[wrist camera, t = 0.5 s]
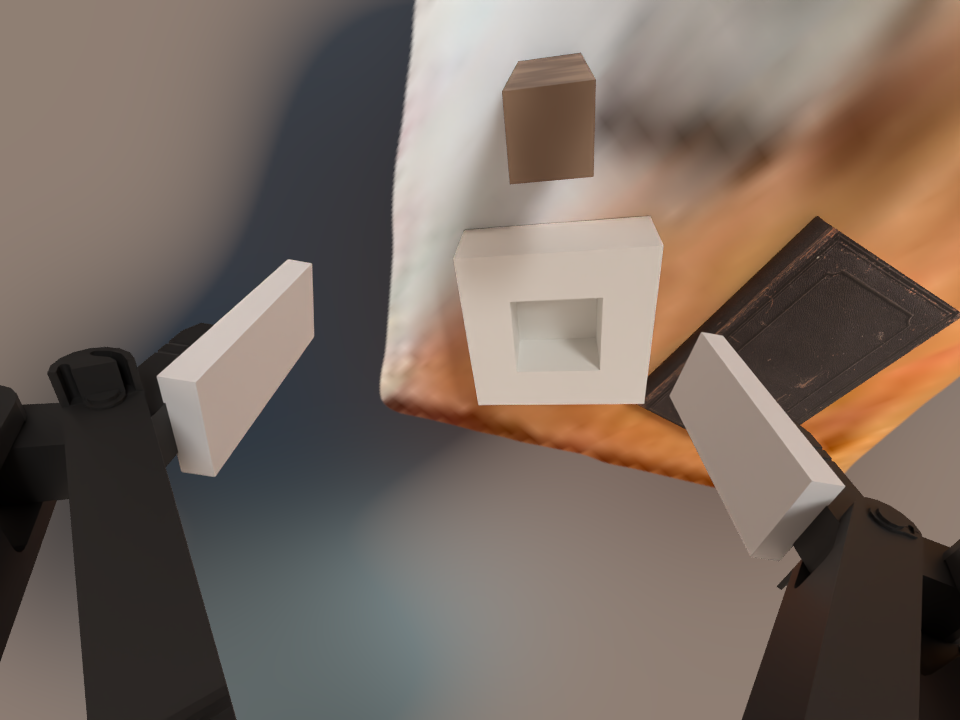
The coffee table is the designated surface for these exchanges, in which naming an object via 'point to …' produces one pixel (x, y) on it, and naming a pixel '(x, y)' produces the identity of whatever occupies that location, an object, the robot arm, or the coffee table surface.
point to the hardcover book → (814, 324)
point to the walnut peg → (550, 119)
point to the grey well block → (560, 310)
